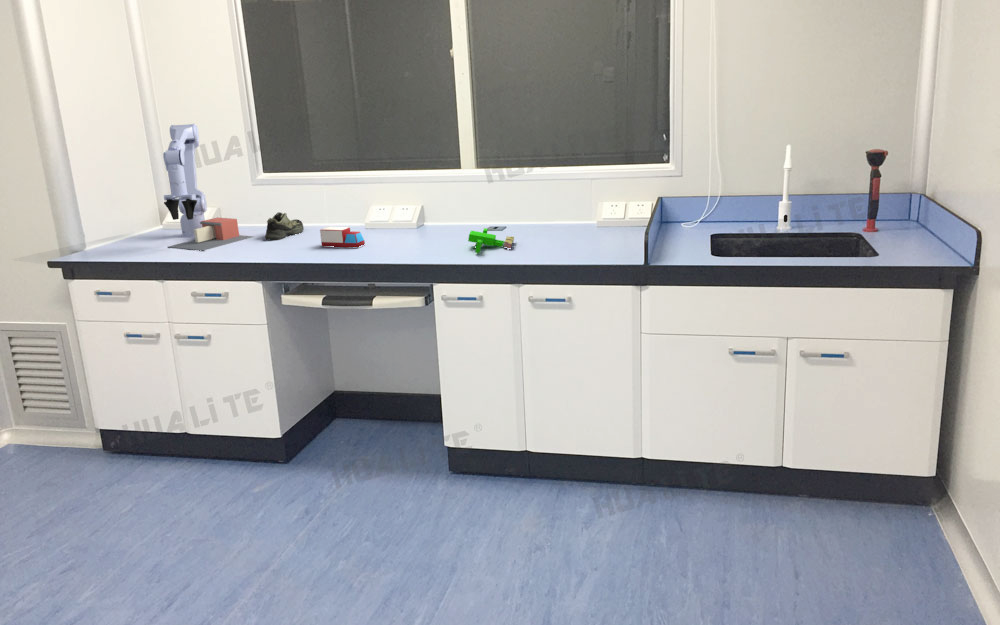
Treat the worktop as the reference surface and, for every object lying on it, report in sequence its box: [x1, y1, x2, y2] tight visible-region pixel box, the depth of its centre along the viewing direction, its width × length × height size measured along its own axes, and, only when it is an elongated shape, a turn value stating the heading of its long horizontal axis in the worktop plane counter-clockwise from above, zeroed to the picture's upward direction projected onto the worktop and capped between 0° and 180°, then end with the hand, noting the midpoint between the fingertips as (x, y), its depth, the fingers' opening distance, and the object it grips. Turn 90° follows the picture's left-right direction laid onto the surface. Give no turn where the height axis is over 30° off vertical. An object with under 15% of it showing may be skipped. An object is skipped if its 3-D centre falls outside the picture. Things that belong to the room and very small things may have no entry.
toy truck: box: [319, 226, 366, 247], centre depth 295 cm, size 6×15×7 cm, turn 69°
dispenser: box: [200, 216, 240, 240], centre depth 321 cm, size 11×9×7 cm
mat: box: [167, 234, 255, 252], centre depth 315 cm, size 20×25×1 cm
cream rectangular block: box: [194, 225, 216, 242], centre depth 316 cm, size 2×11×5 cm, turn 150°
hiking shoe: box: [264, 211, 305, 241], centre depth 321 cm, size 8×21×9 cm, turn 163°
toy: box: [467, 227, 515, 254], centre depth 282 cm, size 22×5×15 cm
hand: (183, 219), depth 307 cm, fingers open, 7 cm apart
